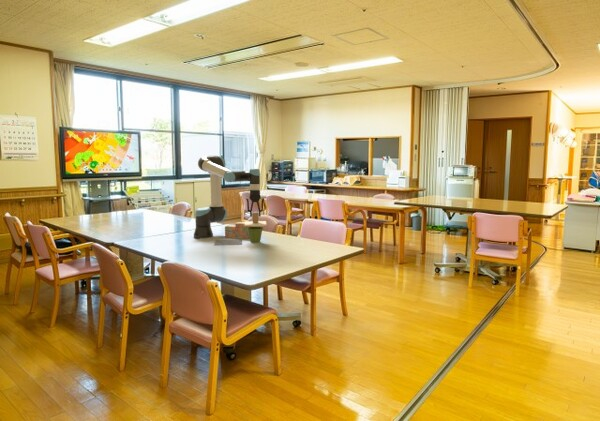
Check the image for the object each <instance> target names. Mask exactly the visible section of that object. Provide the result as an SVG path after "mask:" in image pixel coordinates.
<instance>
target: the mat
mask: <svg viewBox="0 0 600 421" xmlns="http://www.w3.org/2000/svg"><path fill="white" fill-rule="evenodd" d="M241 245H242V246H243V238H237V239H215V241H214V244H213V246H218V247H219V246H241Z"/></svg>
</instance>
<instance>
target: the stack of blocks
mask: <svg viewBox="0 0 600 421" xmlns="http://www.w3.org/2000/svg"><path fill="white" fill-rule="evenodd" d="M248 227H254V226H245V221H244V222H243V221H242V222H241V221H238V222H237V221H236V223H235V225H230V224H229V225H225V226H224V237H225V238H237V239H250V235H249V231H248Z"/></svg>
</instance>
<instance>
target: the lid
mask: <svg viewBox="0 0 600 421" xmlns="http://www.w3.org/2000/svg"><path fill="white" fill-rule="evenodd" d="M252 212H253V221H252V220H251V221H248V220H247V221H246V220H245V221H244V222H245V226H253V227H264V226H268V225H267V221H266V220H259V221H258V212H259V211H252Z"/></svg>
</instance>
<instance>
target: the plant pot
mask: <svg viewBox="0 0 600 421" xmlns="http://www.w3.org/2000/svg"><path fill="white" fill-rule="evenodd" d="M263 229H264V226H253V227H248V231H249V235H250V238H249V240H250V243H252V244H254V243H255V244H257V243H261V240H262V232H263Z"/></svg>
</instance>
